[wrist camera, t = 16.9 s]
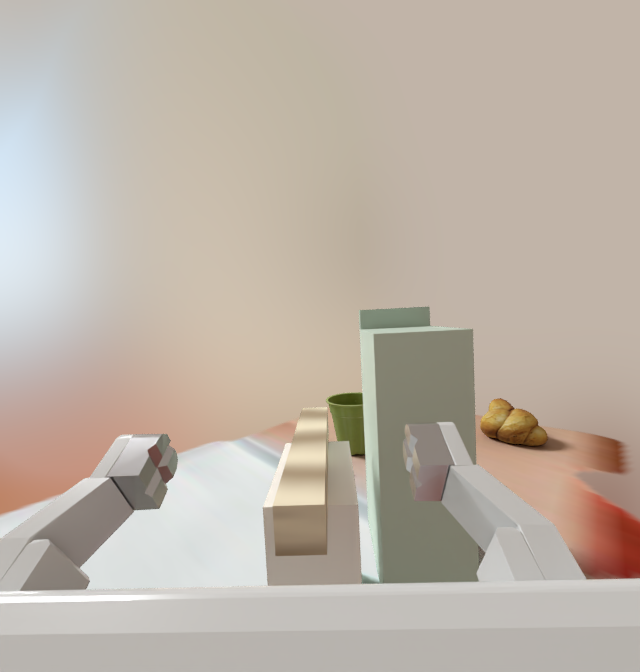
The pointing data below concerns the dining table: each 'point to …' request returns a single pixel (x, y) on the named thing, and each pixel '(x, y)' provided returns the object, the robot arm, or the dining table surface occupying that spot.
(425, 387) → the pale green block
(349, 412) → the plant pot
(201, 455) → the dining table surface
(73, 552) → the robot arm
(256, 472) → the dining table surface
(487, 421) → the bread roll
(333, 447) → the block
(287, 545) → the rail
